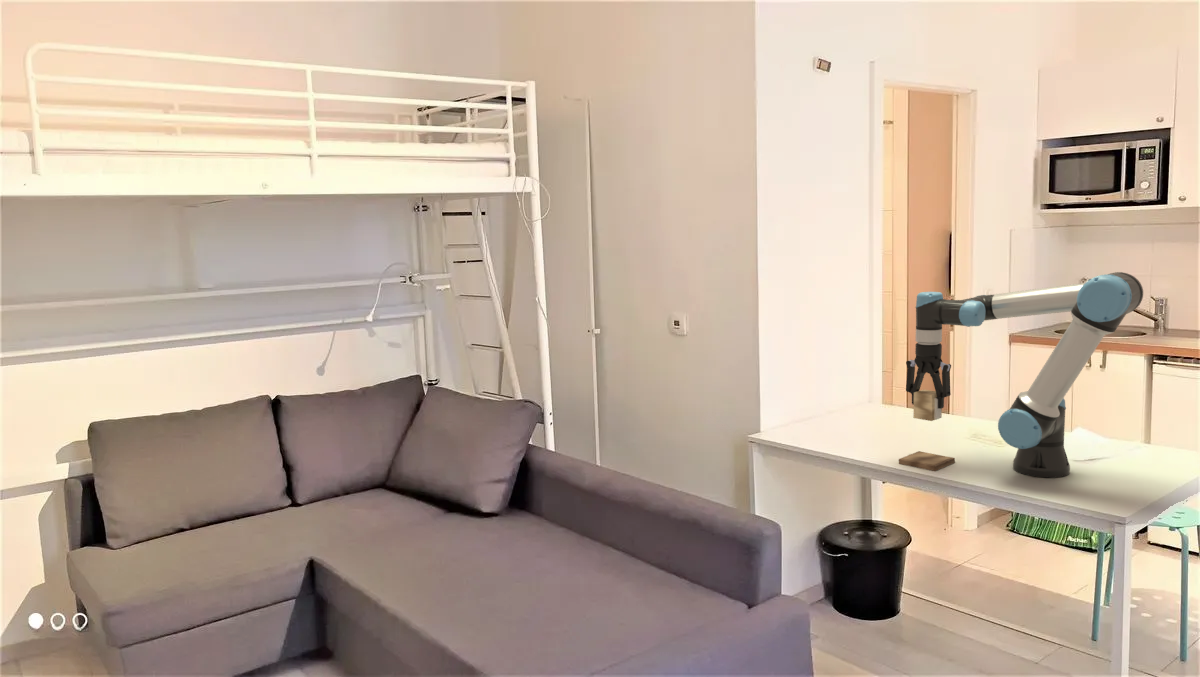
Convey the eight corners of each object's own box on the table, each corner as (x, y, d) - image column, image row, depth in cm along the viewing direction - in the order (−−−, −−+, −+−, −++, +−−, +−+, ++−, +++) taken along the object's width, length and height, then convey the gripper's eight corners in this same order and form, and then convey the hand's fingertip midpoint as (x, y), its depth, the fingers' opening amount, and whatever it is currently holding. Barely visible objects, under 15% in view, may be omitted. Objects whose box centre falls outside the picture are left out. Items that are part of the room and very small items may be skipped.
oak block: (941, 417, 271) (942, 391, 270) (931, 421, 268) (932, 394, 266) (923, 414, 276) (923, 389, 275) (913, 418, 272) (913, 392, 271)
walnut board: (954, 462, 273) (954, 457, 273) (935, 471, 265) (935, 466, 265) (918, 455, 282) (918, 450, 282) (898, 463, 274) (898, 458, 274)
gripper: (964, 344, 264) (963, 419, 267) (906, 338, 278) (905, 410, 281) (952, 347, 259) (950, 424, 262) (893, 341, 273) (892, 414, 276)
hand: (927, 416), depth 272 cm, fingers closed on oak block, 6 cm apart
